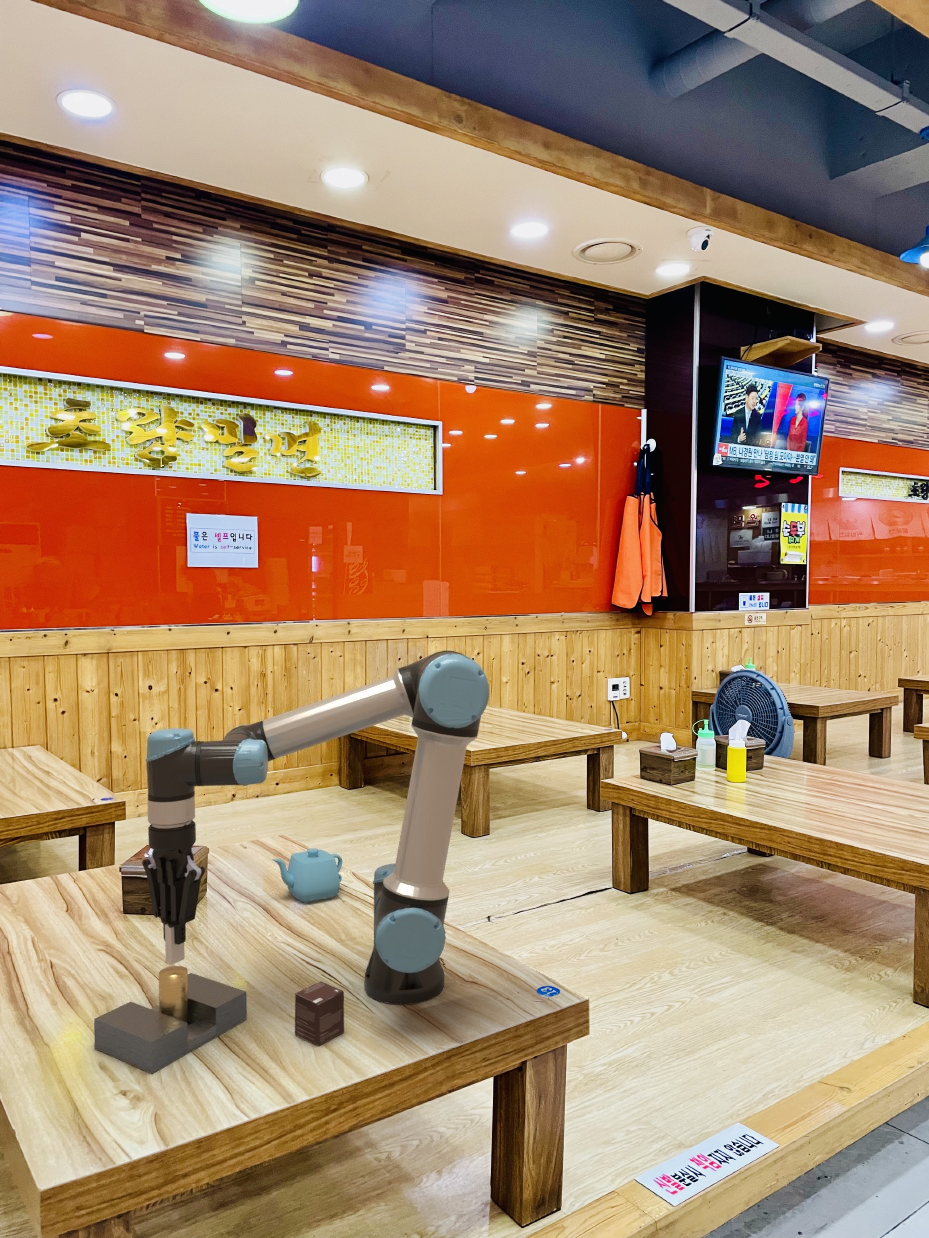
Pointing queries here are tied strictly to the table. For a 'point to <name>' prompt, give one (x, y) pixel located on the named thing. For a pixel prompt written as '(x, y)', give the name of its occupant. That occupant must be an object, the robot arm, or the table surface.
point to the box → (319, 1013)
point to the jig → (170, 1025)
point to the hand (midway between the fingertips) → (175, 960)
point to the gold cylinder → (174, 992)
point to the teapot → (312, 875)
